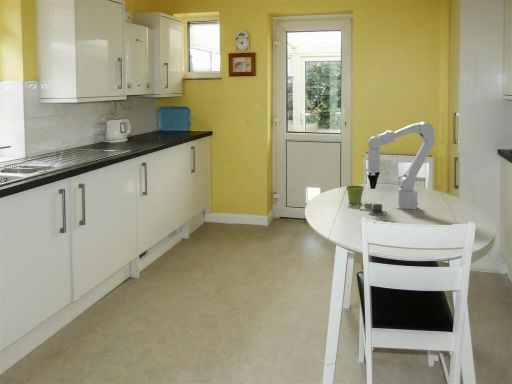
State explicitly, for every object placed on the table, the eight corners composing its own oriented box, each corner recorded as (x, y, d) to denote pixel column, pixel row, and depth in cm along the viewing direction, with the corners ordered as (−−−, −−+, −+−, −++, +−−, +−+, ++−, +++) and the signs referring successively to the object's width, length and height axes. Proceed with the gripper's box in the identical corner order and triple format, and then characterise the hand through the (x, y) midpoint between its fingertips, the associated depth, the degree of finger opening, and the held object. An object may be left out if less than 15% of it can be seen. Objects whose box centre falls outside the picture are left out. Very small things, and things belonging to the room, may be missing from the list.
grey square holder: (377, 207, 285) (377, 201, 285) (376, 210, 278) (376, 204, 277) (361, 206, 287) (361, 200, 287) (359, 210, 280) (359, 204, 279)
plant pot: (363, 204, 292) (364, 188, 290) (345, 204, 293) (345, 188, 292) (364, 201, 301) (364, 185, 299) (346, 200, 302) (346, 185, 301)
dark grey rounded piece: (383, 213, 270) (383, 205, 270) (375, 213, 269) (375, 205, 269) (378, 210, 276) (378, 203, 275) (370, 211, 275) (370, 203, 274)
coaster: (386, 212, 275) (386, 211, 274) (385, 215, 267) (385, 214, 267) (369, 211, 277) (369, 210, 277) (368, 214, 269) (368, 213, 269)
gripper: (366, 158, 288) (366, 184, 291) (364, 162, 275) (364, 189, 277) (380, 159, 286) (380, 185, 289) (379, 162, 273) (378, 190, 275)
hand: (373, 187), depth 283 cm, fingers open, 7 cm apart
